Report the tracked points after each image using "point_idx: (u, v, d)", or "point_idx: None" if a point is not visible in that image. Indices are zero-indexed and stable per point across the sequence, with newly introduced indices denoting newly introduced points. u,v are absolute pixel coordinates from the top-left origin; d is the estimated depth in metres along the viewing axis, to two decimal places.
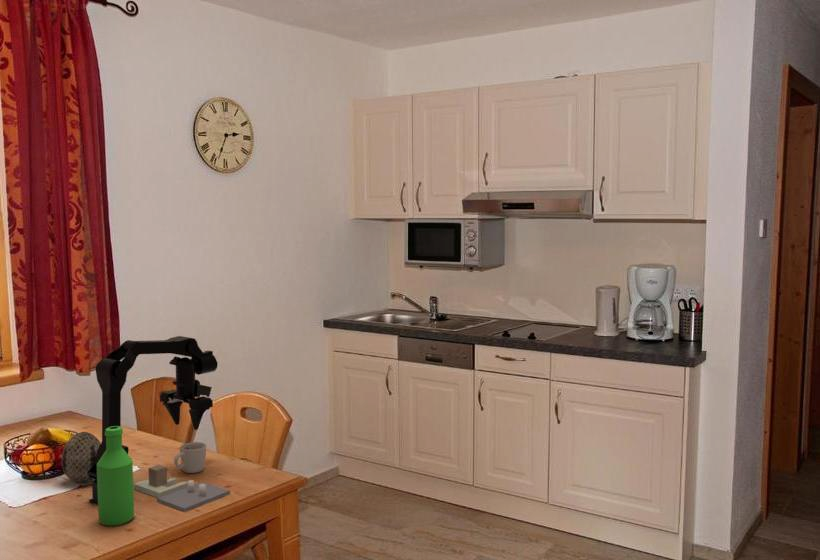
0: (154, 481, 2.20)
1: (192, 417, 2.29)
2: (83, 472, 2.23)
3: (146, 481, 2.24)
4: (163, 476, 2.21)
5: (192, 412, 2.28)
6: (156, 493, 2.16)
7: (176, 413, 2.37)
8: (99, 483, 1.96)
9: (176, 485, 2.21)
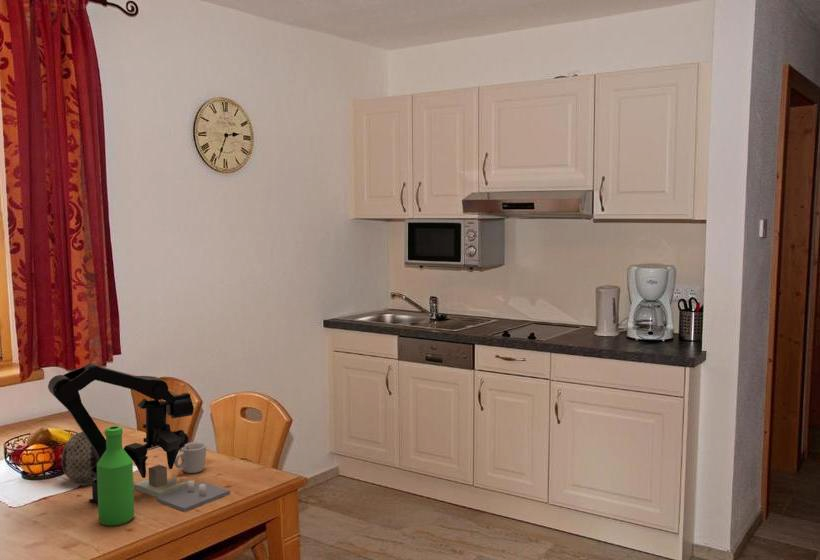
0: (154, 481, 2.20)
1: None
2: (83, 472, 2.23)
3: (146, 481, 2.24)
4: (163, 476, 2.21)
5: None
6: (156, 493, 2.16)
7: (170, 457, 2.25)
8: (99, 483, 1.96)
9: (176, 485, 2.21)
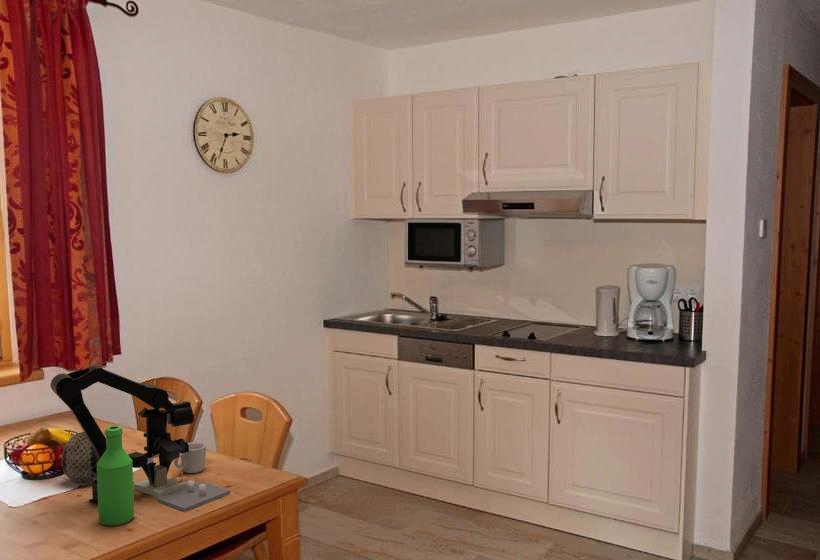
0: (154, 481, 2.20)
1: None
2: (83, 472, 2.23)
3: (146, 481, 2.24)
4: (163, 476, 2.21)
5: None
6: (156, 493, 2.16)
7: None
8: (99, 483, 1.96)
9: (176, 485, 2.21)
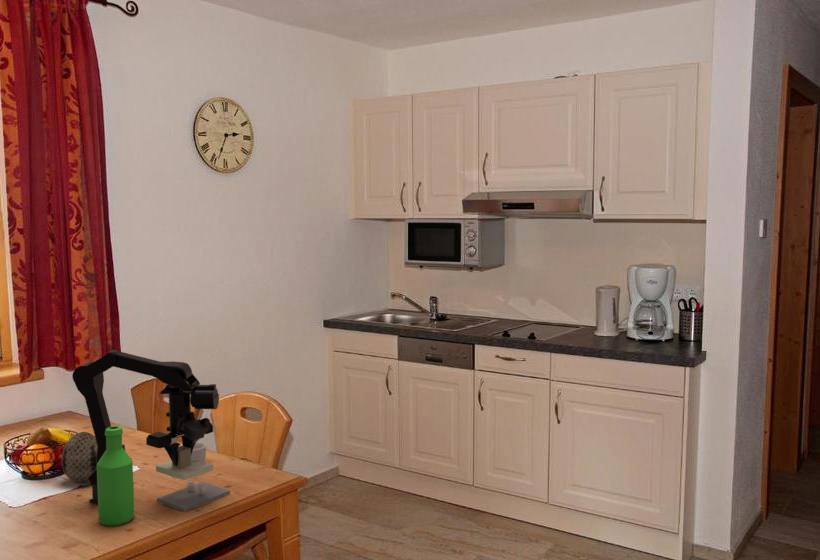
0: (178, 462, 2.10)
1: None
2: (83, 472, 2.23)
3: (169, 463, 2.14)
4: (187, 457, 2.11)
5: None
6: (181, 475, 2.06)
7: None
8: (99, 483, 1.96)
9: (201, 467, 2.11)
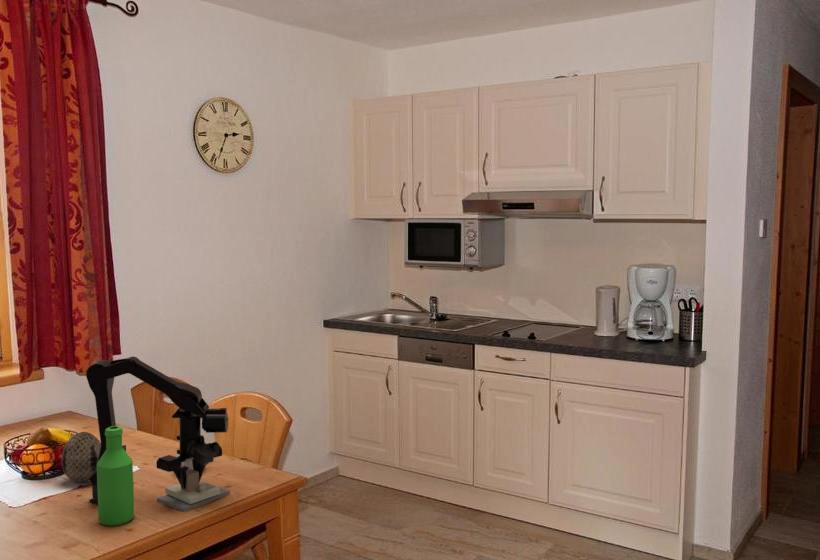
0: (186, 486, 2.12)
1: None
2: (83, 472, 2.23)
3: (178, 485, 2.17)
4: (195, 481, 2.14)
5: None
6: (187, 499, 2.08)
7: None
8: (99, 483, 1.96)
9: (208, 491, 2.13)
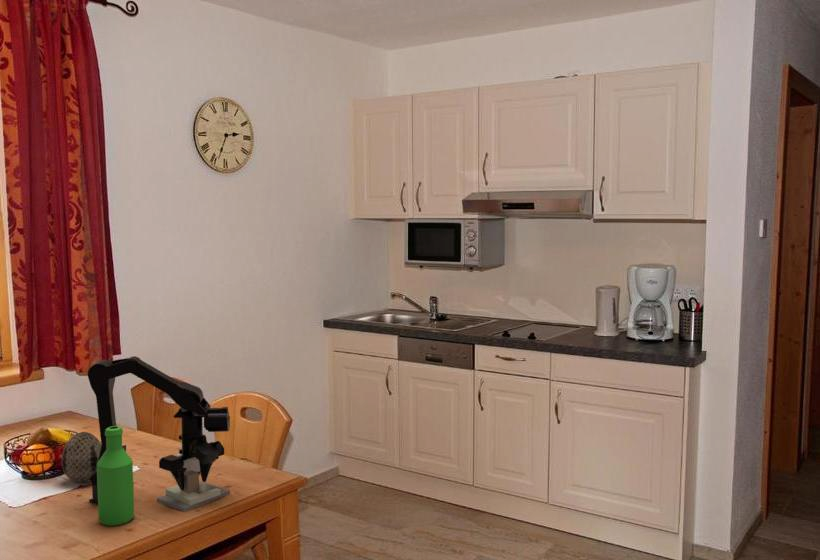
0: (186, 487, 2.12)
1: None
2: (83, 472, 2.23)
3: (178, 487, 2.17)
4: (195, 482, 2.14)
5: None
6: (187, 500, 2.08)
7: (203, 469, 2.18)
8: (99, 483, 1.96)
9: (208, 492, 2.13)
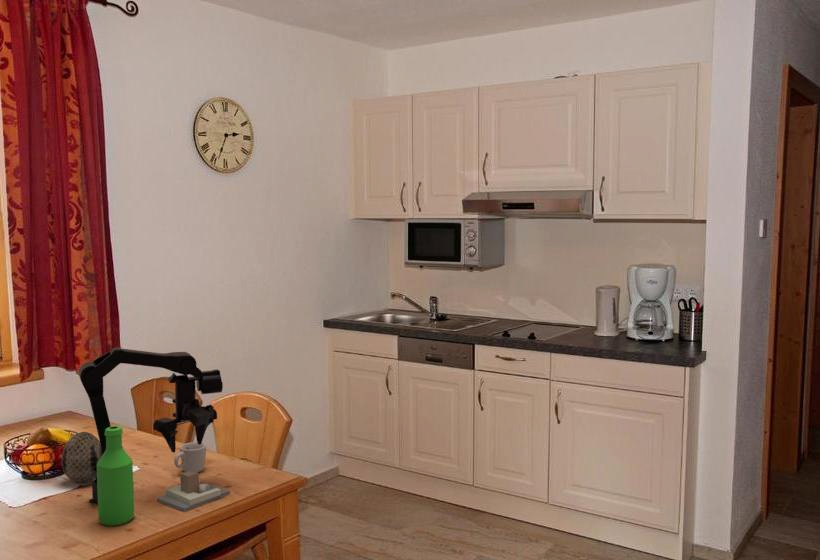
0: (186, 487, 2.12)
1: None
2: (83, 472, 2.23)
3: (178, 487, 2.17)
4: (195, 482, 2.14)
5: None
6: (187, 500, 2.08)
7: (199, 432, 2.26)
8: (99, 483, 1.96)
9: (208, 492, 2.13)
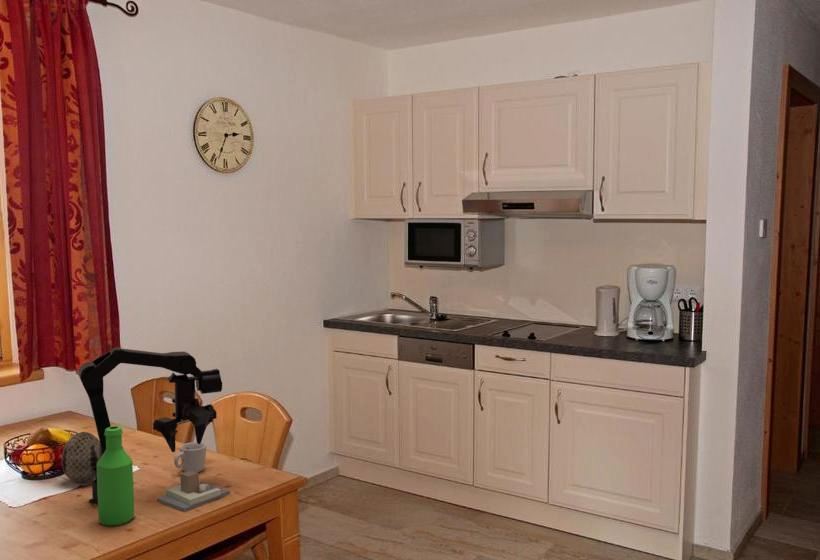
0: (186, 487, 2.12)
1: None
2: (83, 472, 2.23)
3: (178, 487, 2.17)
4: (195, 482, 2.14)
5: None
6: (187, 500, 2.08)
7: (198, 432, 2.26)
8: (99, 483, 1.96)
9: (208, 492, 2.13)
